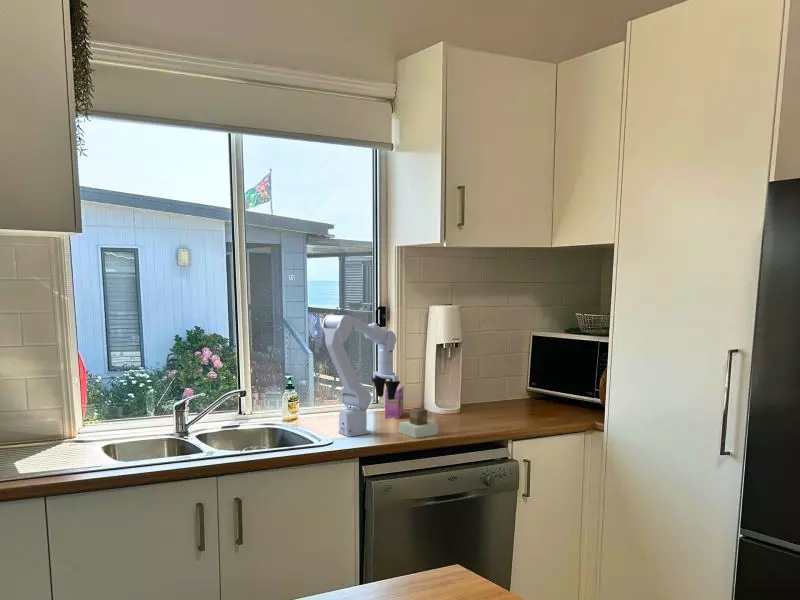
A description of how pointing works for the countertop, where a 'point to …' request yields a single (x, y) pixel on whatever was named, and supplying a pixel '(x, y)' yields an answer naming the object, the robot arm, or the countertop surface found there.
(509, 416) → the countertop surface
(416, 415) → the walnut block
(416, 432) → the base block
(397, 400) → the box
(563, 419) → the countertop surface
